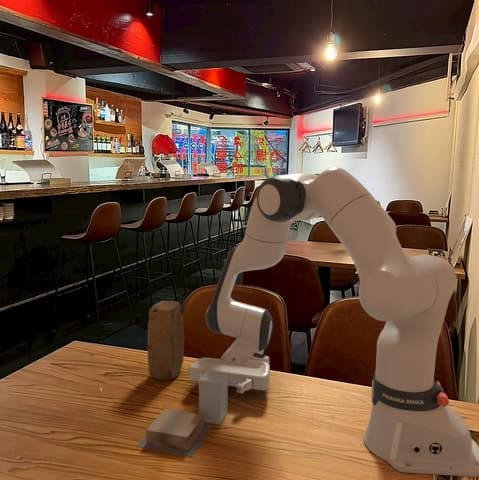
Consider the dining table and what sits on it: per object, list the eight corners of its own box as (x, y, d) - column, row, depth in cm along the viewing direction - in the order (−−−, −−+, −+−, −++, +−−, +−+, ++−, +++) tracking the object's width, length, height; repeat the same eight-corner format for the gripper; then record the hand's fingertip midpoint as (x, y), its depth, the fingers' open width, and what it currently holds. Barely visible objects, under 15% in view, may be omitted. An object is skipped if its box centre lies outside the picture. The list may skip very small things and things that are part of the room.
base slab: (203, 427, 102) (203, 414, 101) (187, 451, 93) (187, 437, 93) (165, 421, 104) (165, 408, 104) (146, 443, 96) (146, 429, 95)
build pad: (212, 426, 103) (212, 425, 103) (191, 458, 91) (191, 457, 91) (162, 418, 106) (162, 416, 106) (136, 448, 95) (136, 446, 95)
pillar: (227, 414, 108) (227, 373, 106) (220, 425, 103) (220, 382, 102) (206, 411, 109) (206, 370, 108) (199, 422, 105) (199, 379, 103)
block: (171, 383, 123) (170, 310, 120) (145, 379, 125) (143, 307, 122) (187, 367, 133) (187, 299, 130) (163, 363, 136) (162, 296, 133)
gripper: (199, 348, 125) (178, 369, 112) (275, 357, 119) (262, 380, 106) (200, 370, 126) (179, 393, 113) (274, 380, 120) (261, 406, 107)
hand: (220, 387), depth 110 cm, fingers open, 8 cm apart
